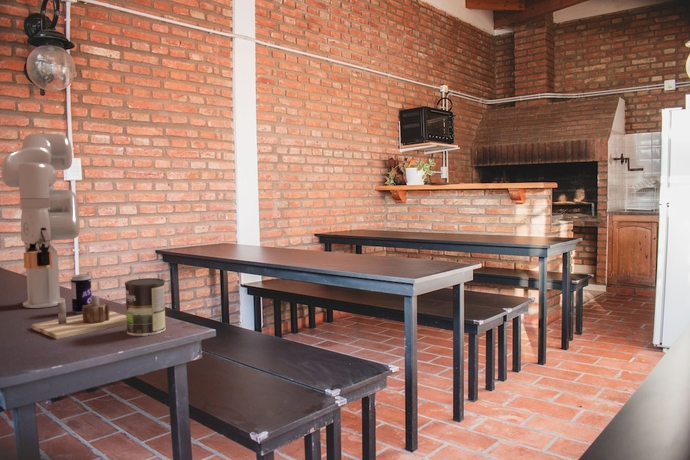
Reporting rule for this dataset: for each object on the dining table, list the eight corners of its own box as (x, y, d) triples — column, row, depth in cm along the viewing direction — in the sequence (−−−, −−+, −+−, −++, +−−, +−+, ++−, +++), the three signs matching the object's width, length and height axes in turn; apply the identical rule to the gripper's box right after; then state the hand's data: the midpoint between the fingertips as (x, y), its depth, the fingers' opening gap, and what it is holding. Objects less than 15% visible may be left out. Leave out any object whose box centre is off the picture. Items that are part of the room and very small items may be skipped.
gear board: (31, 328, 146) (29, 299, 145) (107, 313, 163) (106, 287, 162) (56, 339, 135) (55, 307, 135) (135, 322, 152) (134, 294, 152)
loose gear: (18, 268, 150) (17, 253, 150) (39, 264, 157) (38, 250, 157) (37, 269, 148) (36, 254, 148) (57, 265, 155) (57, 251, 155)
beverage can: (84, 314, 162) (82, 277, 161) (68, 313, 163) (66, 276, 162) (96, 310, 167) (94, 274, 166) (81, 309, 168) (79, 273, 168)
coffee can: (133, 338, 136) (131, 286, 134) (121, 330, 143) (119, 280, 142) (171, 331, 142) (170, 281, 141) (158, 324, 150) (156, 276, 149)
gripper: (10, 204, 154) (13, 263, 155) (32, 205, 143) (36, 268, 144) (37, 203, 159) (40, 260, 161) (61, 204, 148) (64, 265, 150)
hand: (38, 263), depth 153 cm, fingers closed on loose gear, 7 cm apart
